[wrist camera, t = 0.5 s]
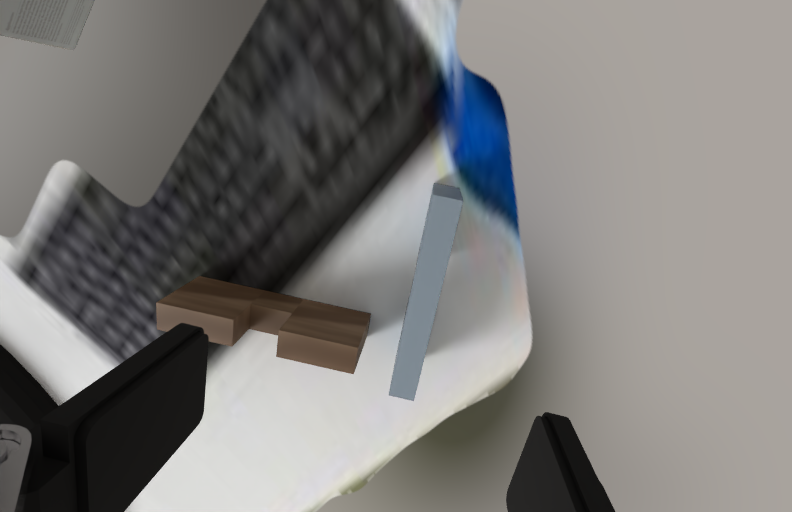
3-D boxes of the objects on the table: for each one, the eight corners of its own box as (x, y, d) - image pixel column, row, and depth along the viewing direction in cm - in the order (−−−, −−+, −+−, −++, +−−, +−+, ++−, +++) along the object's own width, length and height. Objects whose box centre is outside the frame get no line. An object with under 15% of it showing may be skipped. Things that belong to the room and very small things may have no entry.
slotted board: (199, 275, 43) (156, 302, 37) (370, 313, 42) (358, 347, 36) (199, 299, 44) (157, 329, 38) (366, 336, 43) (353, 374, 37)
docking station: (45, 555, 64) (14, 589, 59) (-135, 360, 54) (-190, 382, 49) (159, 526, 59) (135, 561, 54) (-18, 302, 49) (-67, 321, 44)
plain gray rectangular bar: (434, 182, 37) (432, 194, 31) (459, 188, 37) (463, 200, 30) (396, 355, 44) (388, 395, 37) (417, 359, 44) (413, 400, 37)
